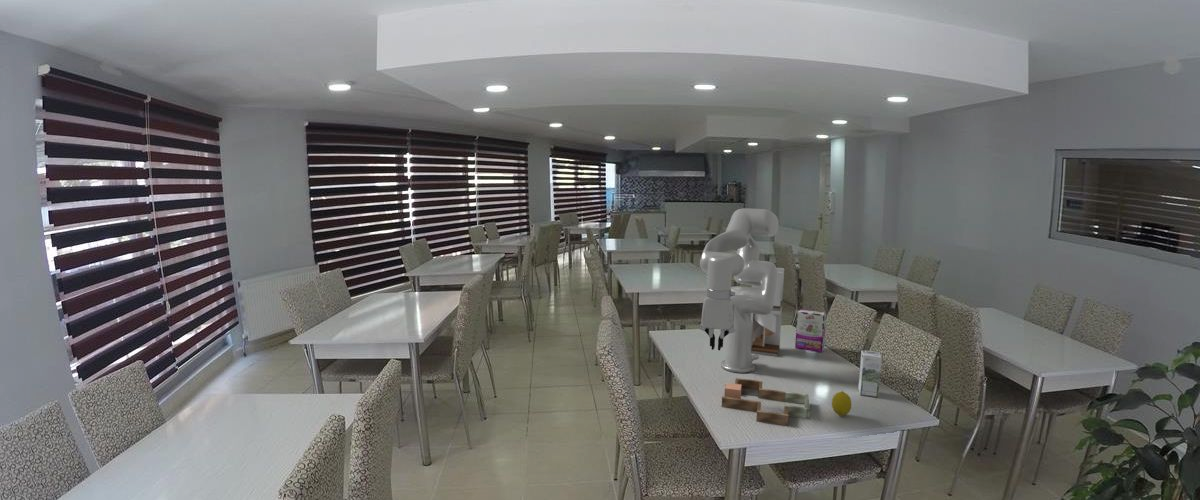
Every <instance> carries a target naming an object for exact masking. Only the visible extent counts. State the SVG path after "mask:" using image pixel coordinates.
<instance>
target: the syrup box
mask: <svg viewBox="0 0 1200 500" xmlns="http://www.w3.org/2000/svg"><path fill="white" fill-rule="evenodd" d="M860 352H861V353H860V365H859V372H858V373H859V374H858V385H857V389H858V393H859V396H864V397H865V396H866V397H872V398H879V391H880V380H881V372H882V362H883V359H882V355H881V353H880V352H879V351H874V350H863V349H862V350H861V351H860Z"/></svg>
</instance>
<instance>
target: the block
mask: <svg viewBox="0 0 1200 500" xmlns="http://www.w3.org/2000/svg"><path fill="white" fill-rule="evenodd" d="M725 384H726V385H725ZM725 384H724V395H723V397H730V398H737V399H742V394H741V386H742V385H741V384H735V383H733V382H726V383H725Z"/></svg>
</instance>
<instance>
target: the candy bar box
mask: <svg viewBox="0 0 1200 500" xmlns="http://www.w3.org/2000/svg"><path fill="white" fill-rule="evenodd" d="M826 324H827V312H823V311H815V310H814V311H813V310H806V309H798V310H797V311H796V324H795V325H796V326H795V329H796V330H795V341H794V342H795V343H794V344H795V345H794V348H795V349H796V350H797V349H798V350H803V351H808V352H809V351H810V352H815V353H820V354H821V353H823V352H824V350H825V343H826V342H825V341H826V339H825V338H826Z"/></svg>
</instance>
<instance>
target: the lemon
mask: <svg viewBox="0 0 1200 500" xmlns="http://www.w3.org/2000/svg"><path fill="white" fill-rule="evenodd" d="M831 408H832V410H833V412H834V413H835V414H837V415H838V416H839V417H843V416H846V415H848V414H849V413H850V412H851V409H852V399H851V397H850V396H849V395H848V394H847V393H845V392H844V391H840V392H836V393H835V394H834V395H833V397H832V400H831Z"/></svg>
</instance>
